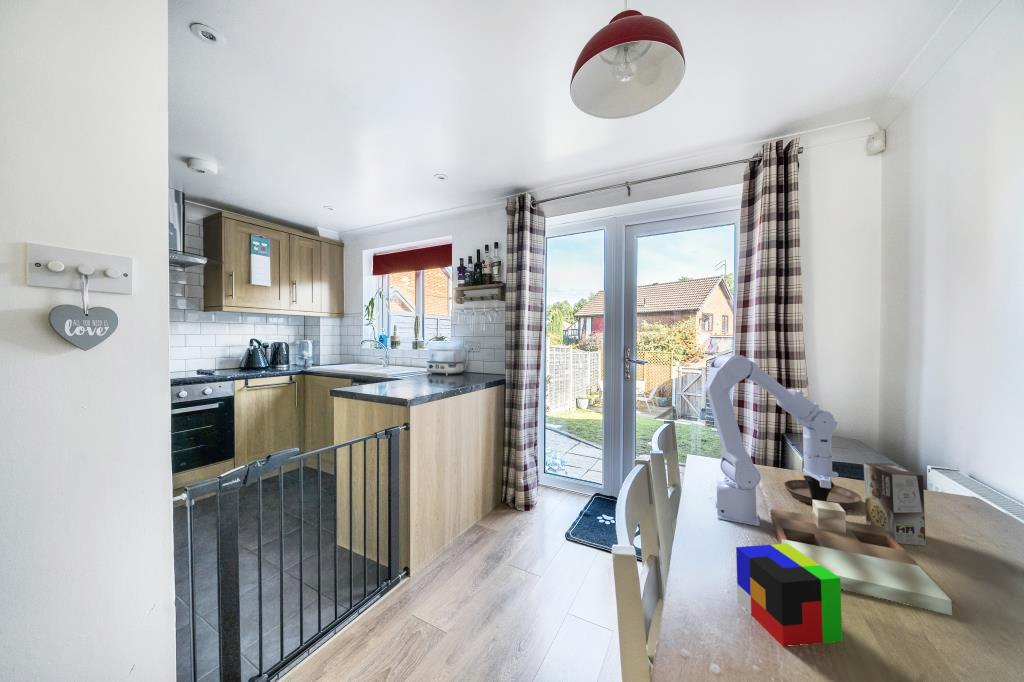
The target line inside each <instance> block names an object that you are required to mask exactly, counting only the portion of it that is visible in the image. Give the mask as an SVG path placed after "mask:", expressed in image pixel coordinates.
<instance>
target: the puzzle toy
mask: <svg viewBox="0 0 1024 682" xmlns="http://www.w3.org/2000/svg"><path fill="white" fill-rule="evenodd" d="M735 551H736V552H735V553H736V554H735V555H736V583H737V585H736V587H737V589H736V590H737V593H736V594H737V602H738V604H740V605H741V607H742V608H743V609H745V608H746V609H747V610H748V611H747V610H746V609H745V610H746V611H747V613H749V614H750V613H751V614H750V616H751V617H753V618H754V620H755V621H756V622H757V623H758V624H759V625H760V626H761V627H762V628H763V629H764V630H765V631H766V632H768V633H769V635H771V636H772V638H774V640H775V641H777V642H778V644H780V646H781V647H783V648H785V647H784V646H788V645H800V644H810V645H816V644H815V643H821V644H826V643H825V642H831V643H834V642H833V641H841V642H843V623H842V622H843V620H842V618H843V617H842V616H843V615H842V594H841V593H842V590H841V584H840V577H838V576H836V575H835V574H833V573H832V572H830V571H829V570H827V569H826V568H824V567H822V566H821V565H819V564H818V563H816V562H815V561H813V560H812V559H810V558H809V557H807V556H805V555H804V554H802V553H801V552H799V551H798V550H796V549H795V548H793V547H791V546H790V545H788V544H780V543H776V544H762V545H749V546H748V545H746V546H736V547H735ZM800 646H801V645H800Z"/></svg>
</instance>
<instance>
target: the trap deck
mask: <svg viewBox="0 0 1024 682" xmlns="http://www.w3.org/2000/svg"><path fill="white" fill-rule="evenodd" d="M769 510H770V520H771V523H772V526H773V529H774V531H775V534H776V538H777V540H778V544H788V545H790V546H791V547H793V548H795V549H796V550H798V551H799V552H801V553H802V554H804V555H805V556H807V557H809V558H810V559H812V560H813V561H815V562H816V563H818V564H819V565H821V566H822V567H824V568H826V569H827V570H829V571H830V572H832V573H833V574H835V575H836V576H838V577H840V584H841V589H844V590H843V591H846V590H848V591H847V592H850V591H852V592H851V593H854V592H856V593H855V594H859V593H860V594H859V595H863V594H864V596H867V595H868V597H871V596H874V597H873V598H876V597H879V598H878V599H880V598H885V599H888V600H889V599H890V600H893V601H897V602H901V603H905V604H909V605H908V606H910V605H912V606H911V607H914V606H916V607H915V608H918V607H920V608H919V609H923V608H925V609H924V610H927V609H928V610H927V611H931V610H932V611H931V612H934V613H935V612H936V613H940V614H945V615H948V616H949V615H950V616H953V610H952V599H950V597H949V596H948V595H947V594H946V593H945V592H944V591H943V590H942V589H941V588H940V587H939V586H938V584H937V583H935V581H933V579H931V577H930V576H928V574H927V573H926V572H925V571H924V570H923V568H922V567H921V566H919V565H918V564H917V563H916V562H915V561H914V559H913V558H912V557H911V556H910V555H909V554H908V553H907V552H906V550H904V548H903V547H901V545H900V543H897V542H896V541H895V540H894V539H893V538H892V537H891V536H890V535H889V534H888V533H887V532H886V530H885V529H884V528H883V527H879V526H873V525H866V524H865V523H860V522H859V523H858V522H854V521H853V522H852V521H847V520H846V533H841V532H835V531H829V530H824V529H818V527H817V525H816V524H815V522H814V520H813V514H812V515H811V514H807V513H806V514H804V513H799V512H792V511H786V510H780V509H776V508H775V509H774V508H770V509H769ZM888 600H887V601H888ZM893 601H892V602H893ZM897 602H896V603H897ZM901 603H900V604H901ZM905 604H904V605H905Z"/></svg>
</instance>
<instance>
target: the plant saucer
mask: <svg viewBox="0 0 1024 682" xmlns="http://www.w3.org/2000/svg"><path fill="white" fill-rule="evenodd" d="M783 485H784V487H785V489H786V490H787V492H789V494H790V495H791V496H792V497H794V498H795V499H797V500H799V501H801V502H803V503H806V504H809V505H811V506H813V502H812V498H811V494H810V490H809V487H808V485H807V482H806V480H805V479H789V480H787V481H785V482H783ZM862 499H863V498H862V496H861V495H860V494H859V493H858V492H856V491H854V490H851V489H849V488H847V487H843V486H840V485H837V484H834V487H833V488H832V489H831V491H830V492H829V495H828V497H827V501H826V502H833V503H839V505H840V506H841V507H842V508H843V510H848V509H852V508H854V507H856V506H857V505H858V504H860V502H861V501H862Z"/></svg>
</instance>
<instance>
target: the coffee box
mask: <svg viewBox="0 0 1024 682" xmlns="http://www.w3.org/2000/svg"><path fill="white" fill-rule="evenodd" d="M863 475H864V477H863V479H864V480H863V481H864V497H865V498H864V499H865V500H864V502H865V520H866V525H873V526H879V527H883V528H884V529H885V530H886V532H887V533H888V534H889V535H890V536H891V537H892V538H893V539H894V540H895V541H896V542H897V543H898V544H903V545H914V546H926V545H927V543H926V540H927V539H926V520H925V519H926V518H925V517H926V516H925V513H926V512H925V489H924V485H925V484H924V475H923V474H920V473H919V472H916V471H912V470H910V469H907V468H904V467H902V466H899V465H896V464H893V463H891V462H890V463H888V462H887V463H886V462H873V463H872V462H871V463H870V462H863Z"/></svg>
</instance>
